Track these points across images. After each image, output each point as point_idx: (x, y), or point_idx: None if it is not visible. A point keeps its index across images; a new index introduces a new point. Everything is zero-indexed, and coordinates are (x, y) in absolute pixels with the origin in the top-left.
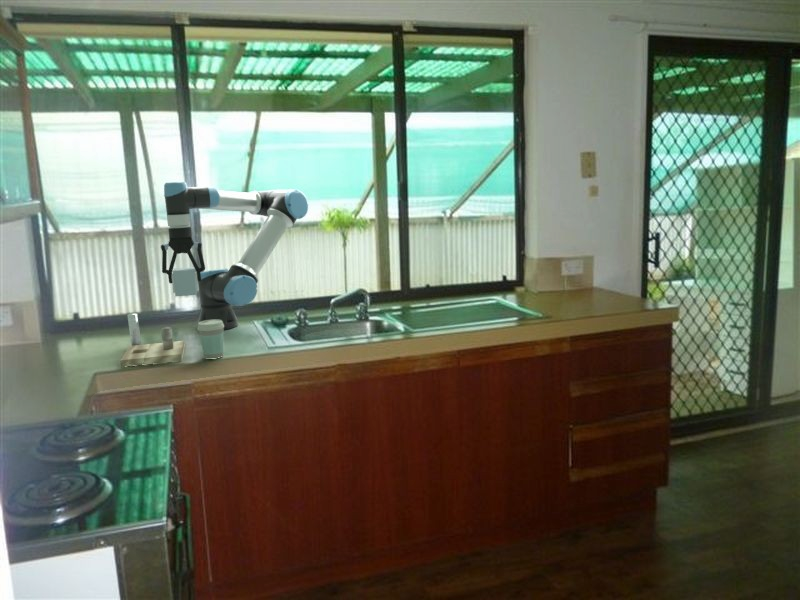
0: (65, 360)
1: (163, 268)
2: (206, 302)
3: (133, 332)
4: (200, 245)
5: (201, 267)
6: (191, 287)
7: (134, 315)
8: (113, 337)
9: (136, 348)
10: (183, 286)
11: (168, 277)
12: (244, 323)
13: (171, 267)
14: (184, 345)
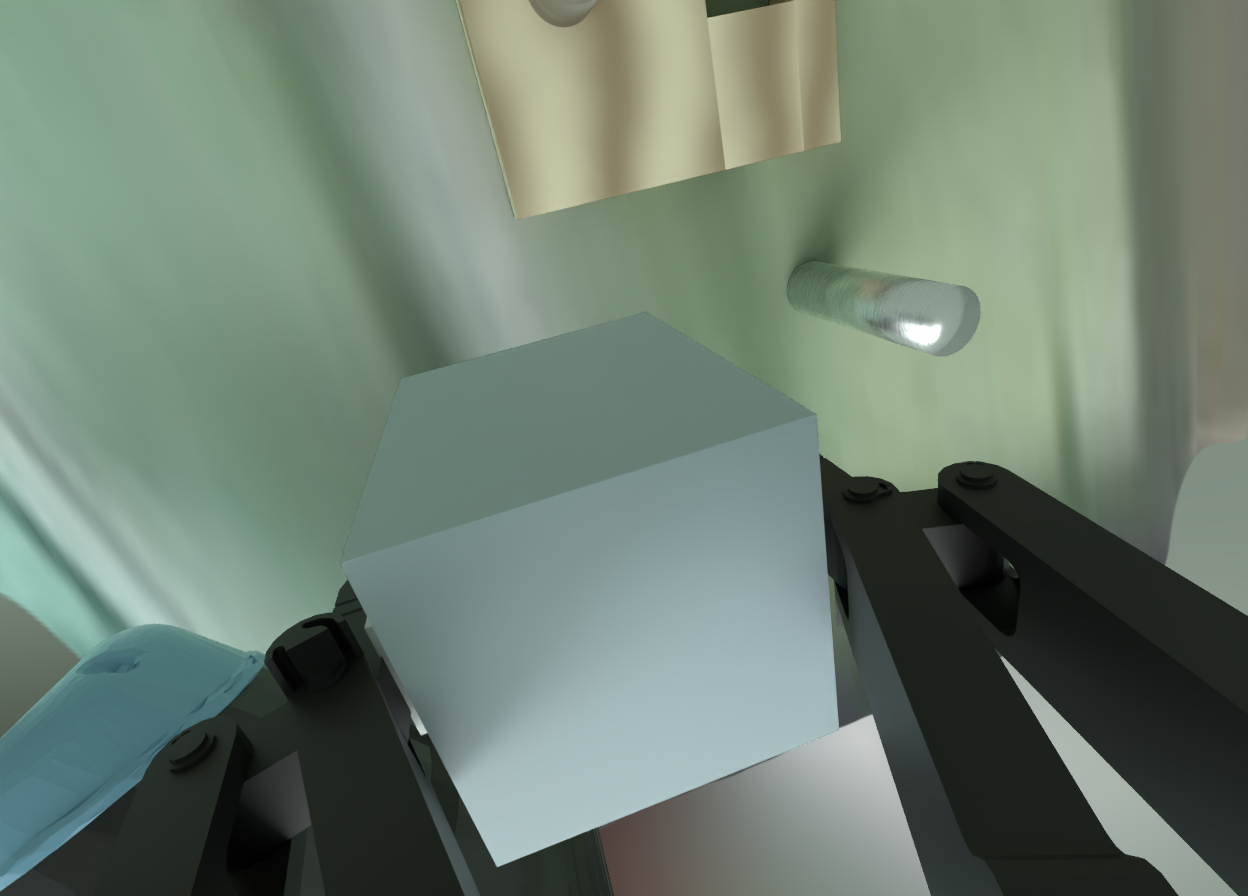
0: (1101, 56)
1: (1029, 504)
2: None
3: (865, 271)
4: None
5: (221, 766)
6: (449, 392)
7: (929, 296)
8: None
9: (784, 52)
10: (562, 368)
11: (839, 470)
12: None
13: (890, 564)
14: (508, 187)
